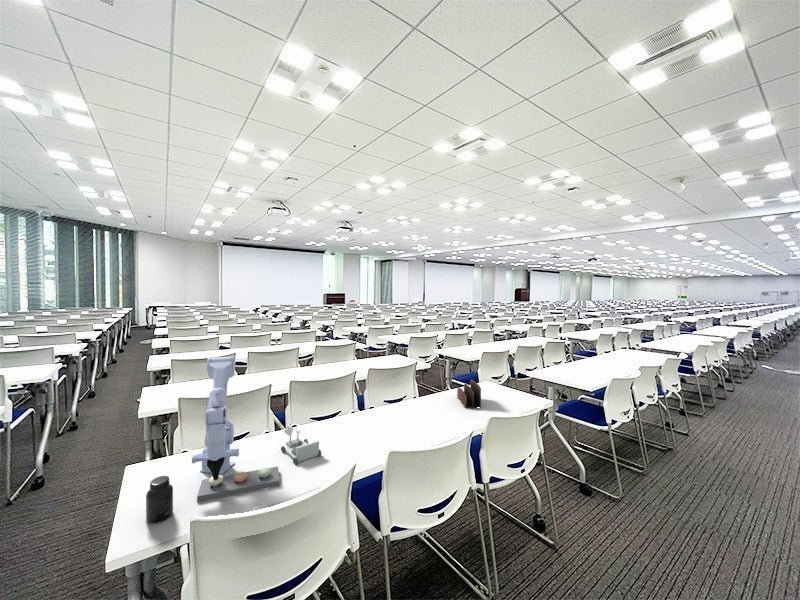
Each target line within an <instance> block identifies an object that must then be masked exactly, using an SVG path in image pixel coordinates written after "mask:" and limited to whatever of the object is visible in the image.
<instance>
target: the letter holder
mask: <svg viewBox="0 0 800 600" xmlns="http://www.w3.org/2000/svg"><path fill="white" fill-rule="evenodd" d="M469 382H470V384H469V385H470V386H469V385H468V384H467V383H464V384H463V389H462V388H461V387H459V386H457V393H456V394H457V395H456V398H457V397H458V398H457V399H459V400H460V401H461V402H460V401H459V400H458V401H459V402H460V404H461V403H462V404H463V405H464V406H463V405H462V404H461V405H462V406H463V407H464V408H477V407H481V408H482V388H481V386H480V385H479V384H478V383H477V382H476V381H475V380H473V379H470V381H469Z"/></svg>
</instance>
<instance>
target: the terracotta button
mask: <svg viewBox="0 0 800 600" xmlns="http://www.w3.org/2000/svg"><path fill="white" fill-rule="evenodd" d="M246 472H247V471H240V472H238V473H235V474H236V475H235V476H234V481H235V482H238V483H242V482H244V481H245V480H246V479H247V478H248V474H247V473H246Z"/></svg>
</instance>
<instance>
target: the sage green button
mask: <svg viewBox="0 0 800 600" xmlns="http://www.w3.org/2000/svg"><path fill="white" fill-rule="evenodd" d="M270 468H271V467H263V468H261V469H258V470H259V472H258V476H259V477H260V478H262V479H263V478H267V477H268V476H270V475H271V469H270Z"/></svg>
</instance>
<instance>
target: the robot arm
mask: <svg viewBox="0 0 800 600" xmlns="http://www.w3.org/2000/svg"><path fill="white" fill-rule="evenodd" d="M235 361H236V358H235V356H218V357H217V356H216V357H214V356H213V357H211V356H210V357H208V358H207V361H206V372H207V375H208V377H209V378H208V379H210V380H213V390H211V391H210V392H209V395H208V405H207V409H206V410H205V414H204V415H205V416H204V418H205V419H204V422H205V423H204V424H205V433H204V434H205V435H204V446H205V447H204V448H203V450H202V452H201V453H199V454H195V455H194V454H193V455H192V457H191V464H196V463H198V462H201V469H200V472H201V473H207V474H208V473H209V474H211V475H212V476H213V480H218V477H219V475H223V474H224V473H225V472H226V471H227V470H229V469H230V468H231V467H233V466H234V465H235V461H231V457H239V455H240V448H231V445H232V444H233V443H234V438H235V437H234V436H235V435H234V434H235V430H234V424H233V423H234V422H233V423H232V422H231V421H230V420H228V408H227V406H228V402H227V401H228V382H229V380H230V379H231V378H233V377H234V375H235V370H236V369H235V368H236V367H235V366H236V363H235ZM212 476H211V477H212Z"/></svg>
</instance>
